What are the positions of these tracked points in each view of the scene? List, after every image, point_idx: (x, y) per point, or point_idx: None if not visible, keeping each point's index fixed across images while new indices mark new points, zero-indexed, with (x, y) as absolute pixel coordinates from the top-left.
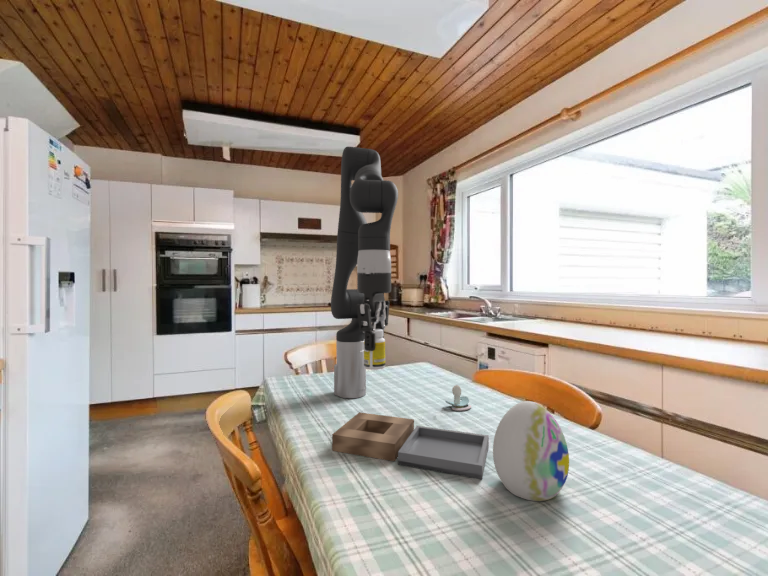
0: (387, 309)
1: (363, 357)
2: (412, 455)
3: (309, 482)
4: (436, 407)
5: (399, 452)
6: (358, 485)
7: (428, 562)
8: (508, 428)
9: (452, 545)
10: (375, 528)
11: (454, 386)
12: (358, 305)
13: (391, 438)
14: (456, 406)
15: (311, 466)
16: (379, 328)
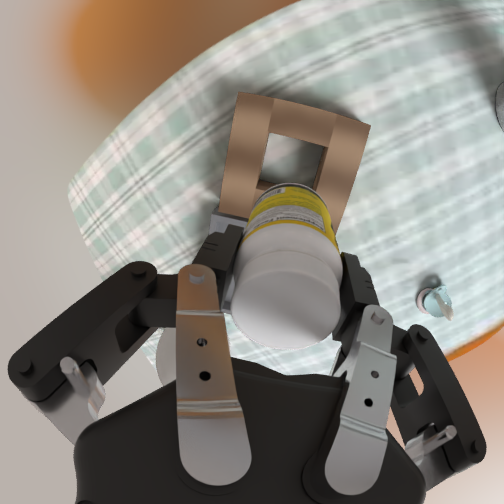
0: (405, 443)
1: None
2: (209, 233)
3: (146, 99)
4: (441, 265)
5: (211, 216)
6: (154, 163)
7: (89, 242)
8: (163, 359)
9: (108, 258)
10: (100, 200)
11: (448, 315)
12: (13, 374)
13: (238, 204)
14: (430, 296)
15: (186, 81)
16: (345, 334)
